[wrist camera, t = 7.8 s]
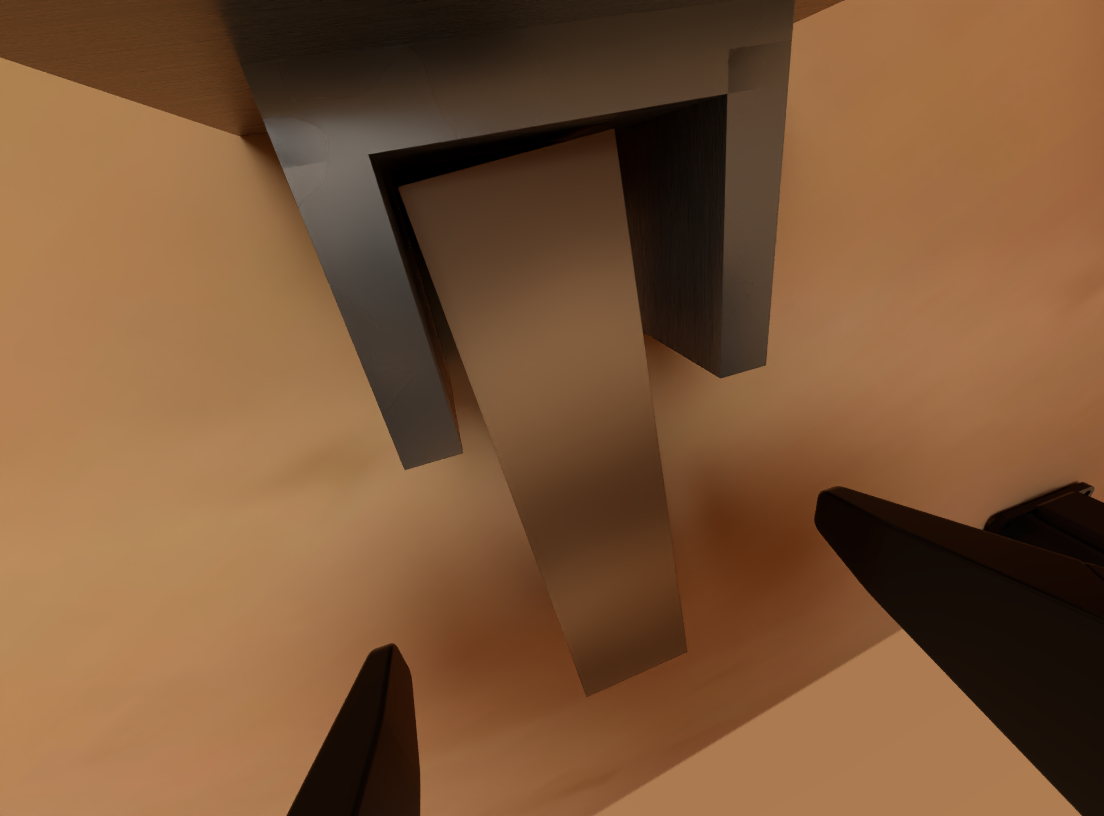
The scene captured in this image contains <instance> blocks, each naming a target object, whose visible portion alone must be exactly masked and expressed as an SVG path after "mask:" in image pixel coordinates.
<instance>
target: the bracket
mask: <svg viewBox="0 0 1104 816" xmlns="http://www.w3.org/2000/svg"><path fill="white" fill-rule="evenodd" d="M842 1H844V0H0V57H1V58H4V59H7V60H10V61H13V62H16V63H19V64H22V65H25V66H28V67H31V68H34V69H37V70H40V71H43V72H46V73H49V74H52V75H56V76H59V77H62V78H65V79H68V80H71V81H74V82H77V83H80V84H83V85H86V86H89V87H92V88H95V89H98V90H101V91H104V92H107V93H110V94H113V95H116V96H119V97H122V98H125V99H128V100H131V101H134V102H138V103H141V104H144V105H147V106H150V107H153V108H156V109H159V110H162V111H165V112H168V113H171V114H174V115H177V116H180V117H183V118H186V119H189V120H192V121H195V122H198V123H201V124H204V125H207V126H210V127H213V128H216V129H220V130H223V131H226V132H229V133H232V134H235V135H238V136H241V135H248V134H254V133H261V132H268V134H269V137H270V139H271V142H272V144H273V147H274V149H275V152H276V154H277V156H278V159H279V161H280V164H281V166H282V169H283V171H284V174H285V176H286V179H287V181H288V184H289V186H290V189H291V191H292V193H293V196H294V198H295V201H296V203H297V206H298V208H299V211H300V213H301V216H302V218H303V221H304V223H305V226H306V228H307V230H308V233H309V235H310V238H311V240H312V243H313V245H314V248H315V250H316V253H317V255H318V258H319V260H320V262H321V265H322V267H323V270H324V272H325V275H326V277H327V280H328V282H329V285H330V287H331V290H332V292H333V295H334V297H335V299H336V302H337V304H338V307H339V309H340V312H341V314H342V317H343V319H344V322H345V324H346V327H347V329H348V332H349V334H350V336H351V339H352V341H353V344H354V346H355V349H356V351H357V354H358V356H359V359H360V361H361V364H362V366H363V369H364V371H365V373H366V376H367V378H368V381H369V383H370V386H371V388H372V391H373V393H374V396H375V398H376V401H377V403H378V406H379V408H380V410H381V413H382V415H383V418H384V420H385V423H386V425H387V428H388V430H389V433H390V435H391V438H392V440H393V443H394V445H395V447H396V450H397V452H398V455H399V457H400V460H401V462H402V465H403V467H404V470H407V469H410V468H414V467H417V466H420V465H424V464H427V463H431V462H434V461H438V460H441V459H445V458H448V457H451V456H455V455H458V454H462V453H463V450H462V444H461V439H460V433H459V428H458V422H457V417H456V411H455V406H454V400H453V395H452V389H451V384H450V378H449V372H448V367H447V363H446V359H445V356H444V353H443V349H442V346H441V343H440V340H439V336H438V333H437V330H436V326H435V323H434V320H433V317H432V313H431V310H430V307H429V303H428V300H427V297H426V293H425V290H424V287H423V284H422V280H421V277H420V274H419V270H418V267H417V264H416V260H415V257H414V254H413V251H412V247H411V244H410V241H409V237H408V234H407V231H406V228H405V224H404V221H403V218H402V214H401V211H400V208H399V204H398V201H397V198H396V195H395V191H394V188H393V185H392V181H391V178H390V175H389V171H392V170H398V169H404V168H409V167H415V166H421V165H426V164H432V163H438V162H443V161H449V160H455V159H460V158H466V157H472V156H477V155H483V154H489V153H494V152H500V151H506V150H511V149H517V148H523V147H528V146H534V145H540V144H545V143H551V142H557V141H562V140H568V139H574V138H579V137H585V136H588V135H592V134H596V133H599V132H603V131H607V130H610V129H614V130H615V138H616V145H617V152H618V159H619V166H620V173H621V180H622V188H623V195H624V202H625V209H626V216H627V223H628V231H629V238H630V245H631V252H632V259H633V266H634V274H635V281H636V288H637V295H638V302H639V309H640V316H641V324H642V331H643V332H645V333H646V334H648V335H650V336H651V337H653V338H654V339H656V340H658V341H659V342H661V343H663V344H664V345H666V346H668V347H669V348H671V349H673V350H674V351H676V352H678V353H679V354H681V355H683V356H684V357H686V358H687V359H689V360H691V361H692V362H694V363H696V364H697V365H699V366H701V367H702V368H704V369H706V370H707V371H709V372H711V373H712V374H714V375H716V376H717V377H719V378H724V377H727V376H731V375H734V374H737V373H741V372H744V371H748V370H751V369H755V368H758V367H762V366H765V365H766V357H767V345H768V332H769V320H770V307H771V294H772V282H773V269H774V256H775V244H776V231H777V219H778V206H779V193H780V181H781V168H782V156H783V143H784V130H785V118H786V105H787V93H788V80H789V67H790V55H791V42H792V30H793V23H795V22H797V21H800V20H802V19H804V18H806V17H808V16H811V15H813V14H815V13H817V12H819V11H822V10H824V9H826V8H828V7H831V6H833V5H835V4H837V3H839V2H842Z"/></svg>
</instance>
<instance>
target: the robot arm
mask: <svg viewBox="0 0 1104 816" xmlns="http://www.w3.org/2000/svg"><path fill="white" fill-rule="evenodd" d="M1093 491H1094V487H1093V486H1091V485H1088V484H1086V483H1084V482H1081V483H1078V484H1076V485H1073V486H1071V487H1068V488H1066V489H1063V490H1061V491H1058V492H1056V493H1053V494H1051V495H1048V496H1046V497H1043V498H1040V499H1038V500H1035V501H1033V502H1030V503H1028V504H1025V505H1023V506H1020V507H1018V508H1015V509H1013V510H1010V511H1008V512H1005V513H1003V514H1000V515H998V516H997V517H996V518H995V519H994V520H993V521H992V522H991V524H990V526H989V529H988V531H984V530H980V529H977V528H974V527H971V526H968V525H964V524H961V523H958V522H955V521H951V520H948V519H945V518H942V517H938V516H935V515H932V514H929V513H926V512H922V511H919V510H916V509H913V508H909V507H906V506H903V505H900V504H897V503H893V502H890V501H887V500H884V499H880V498H877V497H874V496H871V495H867V494H864V493H861V492H858V491H855V490H851V489H848V488H845V487H841V486H835V487H832V488H829V489H826V490H823V491H821V492H820V493H819V495H818V499H817V505H816V511H815V517H814V522H815V525H816V527H817V529H818V531H819V532H820V533H821V535H822V536H823V537H824V538H825V540H826V541H827V542H828V543H829V545H830V546H831V547H832V548H833V550H834V551H835V552H836V553H837V555H838V556H839V557H840V558H841V560H842V561H843V562H844V563H845V565H846V566H847V567H848V568H849V569H850V571H851V572H852V573H853V574H854V576H855V577H856V578H857V579H858V581H859V582H860V583H861V584H862V585H863V587H864V588H865V589H866V590H867V591H868V593H869V594H870V595H871V596H872V597H873V598H874V599H875V600H876V601H877V602H878V603H879V604H880V605H881V607H882V608H883V609H884V610H885V611H886V612H887V613H888V614H889V615H890V616H891V617H892V618H893V619H894V620H895V621H896V622H897V623H898V624H899V625H900V626H901V627H902V628H903V629H904V631H905V632H906V633H907V634H908V635H909V636H910V637H911V638H912V639H913V640H914V641H915V642H916V643H917V644H918V645H919V646H920V647H921V648H922V649H923V650H924V651H925V652H926V653H927V655H928V656H930V658H931V659H932V660H933V661H934V662H935V663H936V664H937V665H938V666H939V667H940V668H941V669H942V670H943V671H944V672H945V673H946V674H947V675H948V676H949V677H950V679H951V680H952V681H953V682H954V683H955V684H956V685H957V686H958V687H959V688H960V689H961V690H962V691H963V692H964V693H965V694H966V695H967V696H968V697H969V698H970V699H971V700H972V701H973V702H974V703H975V705H976V706H977V707H978V708H979V709H980V710H981V711H982V712H983V713H984V714H985V715H986V716H987V717H988V718H989V719H990V720H991V721H992V722H993V723H994V724H995V725H996V727H997V728H998V729H999V730H1000V731H1001V732H1002V733H1003V734H1004V735H1005V736H1006V737H1007V738H1008V739H1009V740H1010V741H1011V742H1012V743H1013V744H1014V745H1015V746H1016V747H1017V748H1018V749H1019V751H1020V752H1022V754H1023V755H1024V756H1025V757H1026V758H1027V759H1028V760H1029V761H1030V762H1031V763H1032V764H1033V765H1034V766H1035V767H1036V768H1037V769H1038V770H1039V771H1040V772H1041V773H1042V775H1043V776H1045V778H1046V779H1047V780H1048V781H1049V782H1050V783H1051V784H1052V785H1053V786H1054V787H1055V788H1056V789H1057V790H1058V791H1059V792H1060V793H1061V794H1062V795H1063V796H1064V797H1065V799H1066V800H1067V801H1068V802H1069V803H1070V804H1071V805H1072V806H1073V807H1074V808H1075V809H1076V810H1077V811H1078V812H1079V813H1080V814H1081V815H1082V816H1104V503H1103V502H1101V501H1098V500H1096V499H1094V498H1092V497H1091V495H1092V493H1093ZM287 816H420V765H419V753H418V741H417V730H416V719H415V707H414V696H413V685H412V677H411V673H410V670H409V667H408V665H407V664H406V662H405V660H404V658H403V656H402V654H401V653H400V651H399V649H398V647H397V646H396V645H395V644H393V643H391V644H388V645H385V646H382V647H379V648H376V649H374V650H372V651H371V652H370V653H369V655H368V656H367V658H366V660H365V662H364V664H363V666H362V668H361V670H360V672H359V674H358V676H357V678H356V680H355V682H354V684H353V686H352V688H351V690H350V692H349V694H348V696H347V698H346V700H345V702H344V703H343V705H342V707H341V709H340V711H339V713H338V715H337V717H336V719H335V721H334V723H333V725H332V727H331V729H330V731H329V733H328V735H327V737H326V739H325V741H324V743H323V745H322V747H321V749H320V751H319V753H318V755H317V757H316V759H315V760H314V762H313V764H312V766H311V768H310V770H309V772H308V774H307V776H306V778H305V780H304V782H303V784H302V786H301V788H300V790H299V792H298V794H297V796H296V798H295V800H294V802H293V804H292V806H291V808H290V810H289V812H288V814H287Z"/></svg>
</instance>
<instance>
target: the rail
mask: <svg viewBox="0 0 1104 816" xmlns="http://www.w3.org/2000/svg"><path fill="white" fill-rule="evenodd" d="M398 189H399V192H400V195H401V198H402V200H403V203H404V206H405V208H406V211H407V214H408V216H409V219H410V222H411V224H412V227H413V230H414V233H415V235H416V238H417V241H418V243H419V246H420V249H421V251H422V254H423V257H424V260H425V262H426V265H427V268H428V270H429V273H430V276H431V278H432V281H433V284H434V287H435V289H436V292H437V295H438V297H439V300H440V303H441V305H442V308H443V311H444V313H445V316H446V319H447V322H448V324H449V327H450V330H451V332H452V335H453V338H454V340H455V343H456V346H457V349H458V351H459V354H460V357H461V359H462V362H463V365H464V367H465V370H466V373H467V375H468V378H469V381H470V384H471V386H472V389H473V392H474V394H475V397H476V400H477V402H478V405H479V408H480V411H481V413H482V416H483V419H484V421H485V424H486V427H487V429H488V432H489V435H490V438H491V440H492V443H493V446H494V448H495V451H496V454H497V456H498V459H499V462H500V464H501V467H502V470H503V473H504V475H505V478H506V481H507V483H508V486H509V489H510V491H511V494H512V497H513V500H514V502H515V505H516V508H517V510H518V513H519V516H520V518H521V521H522V524H523V526H524V529H525V532H526V535H527V537H528V540H529V543H530V545H531V548H532V551H533V553H534V556H535V559H536V562H537V564H538V567H539V570H540V572H541V575H542V578H543V580H544V583H545V586H546V589H547V591H548V594H549V597H550V599H551V602H552V605H553V607H554V610H555V613H556V615H557V618H558V621H559V624H560V626H561V629H562V632H563V634H564V637H565V640H566V642H567V645H568V648H569V651H570V653H571V656H572V659H573V661H574V664H575V667H576V669H577V672H578V675H579V677H580V680H581V683H582V686H583V688H584V691H585V694H586V696H587V697H588V696H590V695H592V694H595V693H597V692H599V691H601V690H604V689H606V688H608V687H610V686H613V685H615V684H617V683H619V682H621V681H624V680H626V679H628V678H630V677H633V676H635V675H637V674H639V673H642V672H644V671H646V670H648V669H650V668H653V667H655V666H657V665H659V664H662V663H664V662H666V661H668V660H671V659H673V658H675V657H677V656H679V655H682V654H684V653H686V652H687V646H686V639H685V632H684V624H683V617H682V610H681V603H680V596H679V589H678V581H677V574H676V567H675V560H674V553H673V546H672V538H671V531H670V524H669V517H668V510H667V503H666V495H665V488H664V481H663V474H662V467H661V460H660V453H659V445H658V438H657V431H656V424H655V417H654V410H653V402H652V395H651V388H650V381H649V374H648V367H647V359H646V352H645V345H644V338H643V331H642V324H641V316H640V309H639V302H638V295H637V288H636V281H635V274H634V266H633V259H632V252H631V245H630V238H629V231H628V223H627V216H626V209H625V202H624V195H623V188H622V180H621V173H620V166H619V159H618V152H617V145H616V138H615V130H614V129H610V130H607V131H603V132H599V133H596V134H592V135H588V136H585V137H581V138H577V139H573V140H570V141H566V142H562V143H559V144H555V145H551V146H548V147H544V148H540V149H537V150H533V151H529V152H525V153H522V154H518V155H514V156H511V157H507V158H503V159H500V160H496V161H492V162H489V163H485V164H481V165H477V166H474V167H470V168H466V169H463V170H459V171H455V172H452V173H448V174H444V175H441V176H437V177H433V178H429V179H426V180H422V181H418V182H415V183H411V184H407V185H404V186H400V187H398Z"/></svg>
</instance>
